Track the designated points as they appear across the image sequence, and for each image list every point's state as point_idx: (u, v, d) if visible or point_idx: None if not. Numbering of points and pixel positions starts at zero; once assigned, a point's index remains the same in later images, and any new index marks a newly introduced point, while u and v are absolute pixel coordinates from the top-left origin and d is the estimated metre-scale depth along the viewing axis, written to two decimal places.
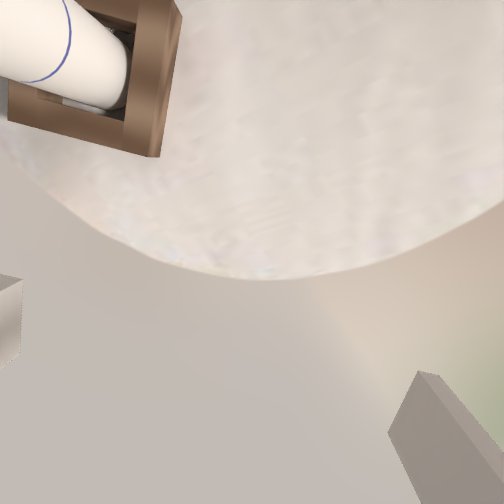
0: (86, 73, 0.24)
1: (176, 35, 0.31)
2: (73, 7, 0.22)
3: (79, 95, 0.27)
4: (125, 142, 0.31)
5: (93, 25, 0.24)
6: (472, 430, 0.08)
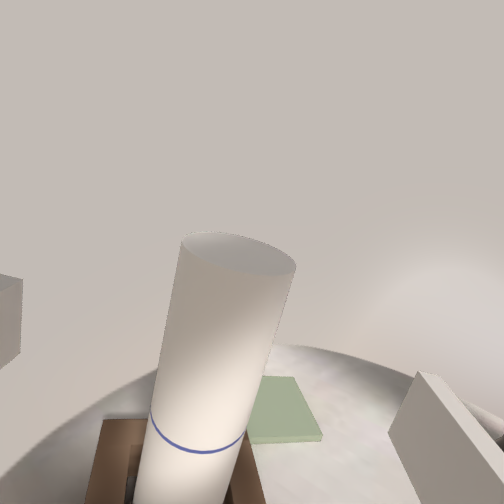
0: (172, 483, 0.20)
1: None
2: (232, 455, 0.21)
3: (144, 483, 0.22)
4: None
5: (222, 483, 0.22)
6: (472, 430, 0.08)
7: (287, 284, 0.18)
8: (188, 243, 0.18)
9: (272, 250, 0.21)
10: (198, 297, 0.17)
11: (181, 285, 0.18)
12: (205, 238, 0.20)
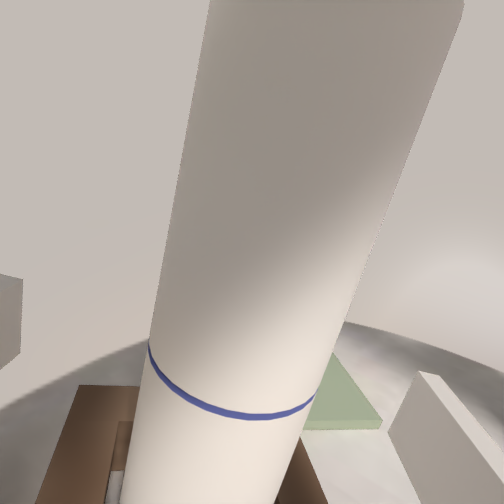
0: (189, 479, 0.11)
1: None
2: (299, 429, 0.11)
3: (135, 479, 0.12)
4: None
5: (277, 482, 0.12)
6: (472, 430, 0.08)
7: (450, 41, 0.08)
8: None
9: None
10: (264, 28, 0.07)
11: (219, 31, 0.08)
12: None
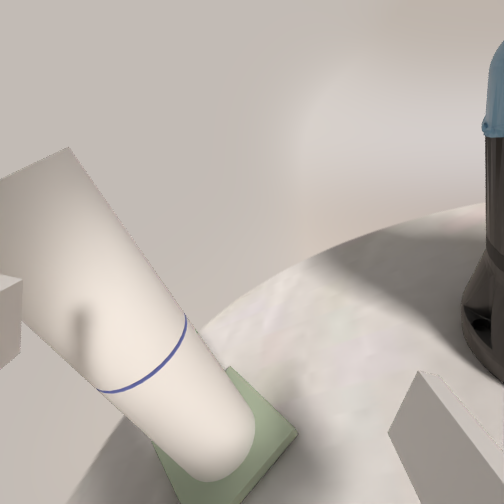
0: (159, 414, 0.20)
1: None
2: (191, 352, 0.21)
3: (148, 434, 0.21)
4: None
5: (207, 378, 0.22)
6: (472, 430, 0.08)
7: (63, 170, 0.14)
8: None
9: (48, 156, 0.17)
10: None
11: None
12: None
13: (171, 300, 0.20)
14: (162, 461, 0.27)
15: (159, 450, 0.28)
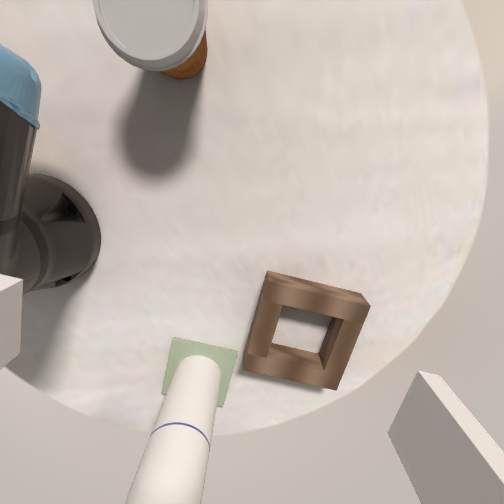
0: (202, 408, 0.38)
1: (281, 276, 0.43)
2: (167, 415, 0.37)
3: (214, 407, 0.41)
4: (358, 319, 0.42)
5: (174, 398, 0.39)
6: (472, 430, 0.08)
7: None
8: None
9: None
10: None
11: None
12: None
13: (148, 447, 0.34)
14: (225, 393, 0.49)
15: (223, 398, 0.50)
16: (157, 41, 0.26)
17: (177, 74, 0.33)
